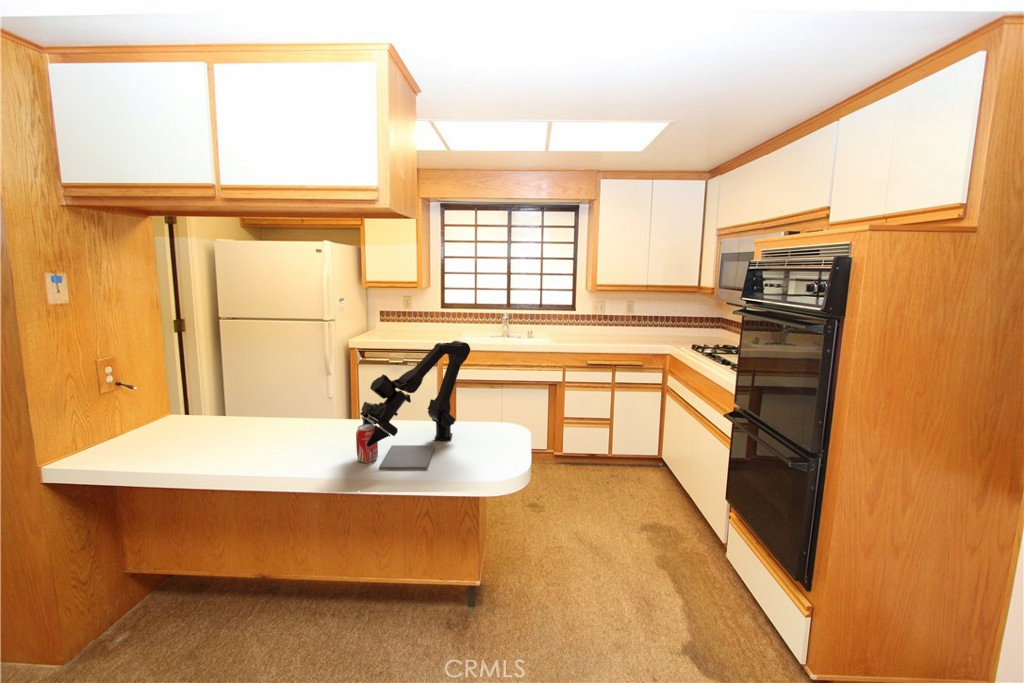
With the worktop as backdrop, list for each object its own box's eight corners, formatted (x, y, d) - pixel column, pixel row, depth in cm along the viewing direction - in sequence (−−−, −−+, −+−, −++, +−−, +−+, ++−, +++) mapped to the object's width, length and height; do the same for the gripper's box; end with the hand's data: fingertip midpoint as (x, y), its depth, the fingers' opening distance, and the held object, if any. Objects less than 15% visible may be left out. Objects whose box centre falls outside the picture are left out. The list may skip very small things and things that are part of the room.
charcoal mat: (391, 447, 168) (391, 445, 168) (434, 447, 169) (434, 445, 168) (379, 469, 150) (378, 466, 150) (427, 469, 151) (427, 466, 151)
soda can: (360, 455, 161) (358, 423, 159) (380, 455, 162) (378, 423, 160) (354, 464, 154) (353, 430, 152) (375, 463, 155) (374, 430, 153)
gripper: (364, 387, 164) (335, 423, 158) (387, 399, 150) (357, 439, 144) (385, 404, 170) (358, 439, 165) (409, 416, 156) (381, 455, 151)
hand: (363, 442), depth 156 cm, fingers closed on soda can, 7 cm apart
